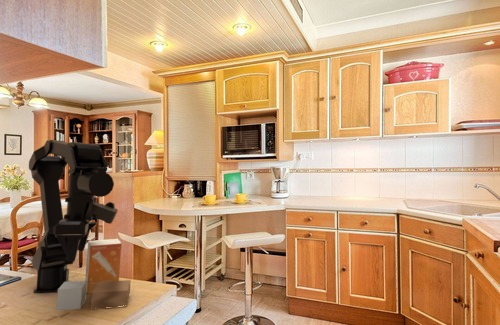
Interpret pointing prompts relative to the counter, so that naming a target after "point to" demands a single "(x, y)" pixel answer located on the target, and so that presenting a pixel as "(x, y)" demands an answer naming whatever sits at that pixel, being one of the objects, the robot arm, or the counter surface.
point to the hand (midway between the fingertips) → (76, 255)
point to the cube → (71, 295)
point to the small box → (102, 262)
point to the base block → (110, 294)
